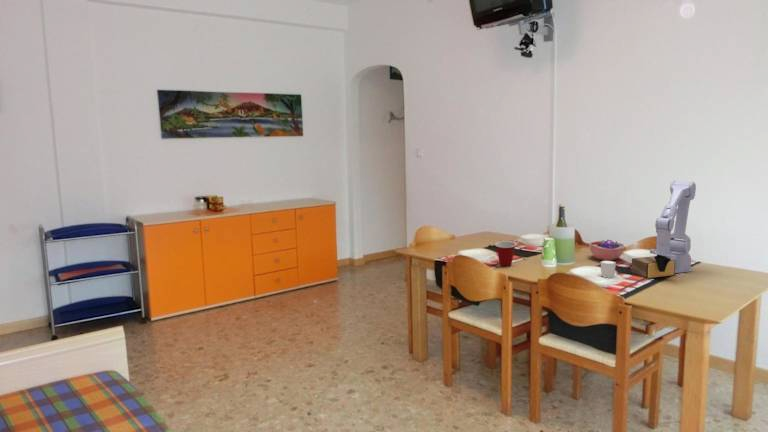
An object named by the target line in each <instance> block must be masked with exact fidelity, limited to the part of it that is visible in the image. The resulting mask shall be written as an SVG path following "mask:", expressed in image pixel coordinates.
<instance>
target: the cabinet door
mask: <svg viewBox="0 0 768 432" xmlns="http://www.w3.org/2000/svg"><path fill="white" fill-rule="evenodd" d="M675 263H676V261H671V262H668V264H667V266H666V269H665V272H660V271H659V269H658V265H657V263H652V264H648V277H647V278H649V279H650V278H651V279H652V278H658V277H659V278H661V277H668V276H675V275H676V273H675Z"/></svg>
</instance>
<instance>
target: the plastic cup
mask: <svg viewBox="0 0 768 432" xmlns="http://www.w3.org/2000/svg"><path fill="white" fill-rule="evenodd" d="M516 246H517V243H516V242H513V241H509V240H507V241H506V240H505V241H498V242H496V243H495V247H496V250H497V257H498V261H499V262H498V263H499V265H500V267H503V268H505V267H507V268H508V267H511V266H512V264H513V257H514V252H515V250H516V249H515V248H516Z"/></svg>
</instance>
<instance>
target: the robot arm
mask: <svg viewBox="0 0 768 432" xmlns="http://www.w3.org/2000/svg"><path fill="white" fill-rule="evenodd" d="M696 190H697V187H696V183H695V182H694V181H677V180H672V181H671V183H670V186H669V192H670V194H671V195H670V198H669V202H668V204H666V205H665V206H664V208H663V210H662V212H661V214H660V216H659V217H657V218H656V220H655V226H654V228H655V233H656V246H655V247H656V248H650V249H649V254H651V255H652V254H654V258H655V260H656V262H657V265H658V269H659V271H660V272H665V269H666V266H667V264H668V262H669V261H670V260H671V261H676V263H675V274H677V273H678V274H680V273H689V272H692V270H691V267H692V257H691V255H690V251H691V248H692V247H691V245H692V243H691V237H689V236H688V235H687V234H686V230H687V228H686V227H687V223H688V216H689V211H690V203H691V201H692V200H694V199H695V197H696ZM672 231H673V233H672Z"/></svg>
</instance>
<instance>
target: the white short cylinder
mask: <svg viewBox="0 0 768 432" xmlns="http://www.w3.org/2000/svg"><path fill="white" fill-rule="evenodd" d="M616 266H617V261H614V260H611V261H605V260H602V261H600V272H601V273H600V274H601V275H602V276H605V277H613V278H615V273H616V272H615V271H616ZM602 276H601V277H602ZM605 277H604V278H605Z"/></svg>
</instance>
